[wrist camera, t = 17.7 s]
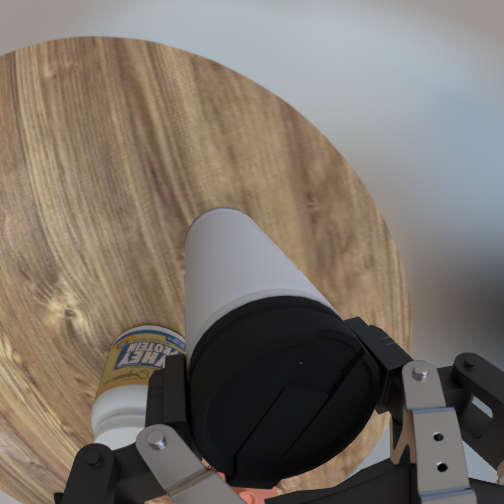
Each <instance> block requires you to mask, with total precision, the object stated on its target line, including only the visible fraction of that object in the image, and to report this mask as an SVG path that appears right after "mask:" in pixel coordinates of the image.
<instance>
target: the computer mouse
mask: <svg viewBox="0 0 504 504" xmlns="http://www.w3.org/2000/svg"><path fill="white" fill-rule="evenodd" d="M62 497H63V494H62V493H56V494H54V501H55V504H61V500H62Z"/></svg>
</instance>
